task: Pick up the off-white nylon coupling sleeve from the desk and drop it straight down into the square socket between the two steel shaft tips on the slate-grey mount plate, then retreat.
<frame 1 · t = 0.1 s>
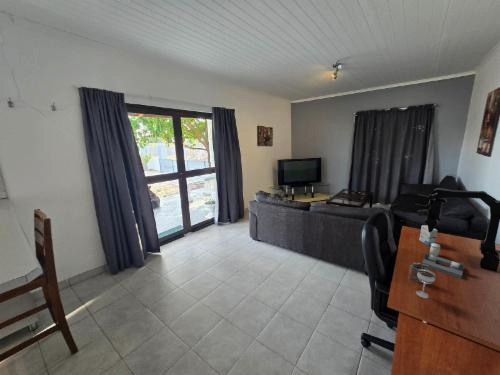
hand: (430, 230, 140), 14 cm above the table, fingers open, 9 cm apart
coupler: (433, 254, 138), on the table
ink box: (426, 242, 153), on the table
grey box: (417, 280, 114), on the table
shaft mount: (442, 266, 125), on the table
wineglass: (422, 294, 104), on the table
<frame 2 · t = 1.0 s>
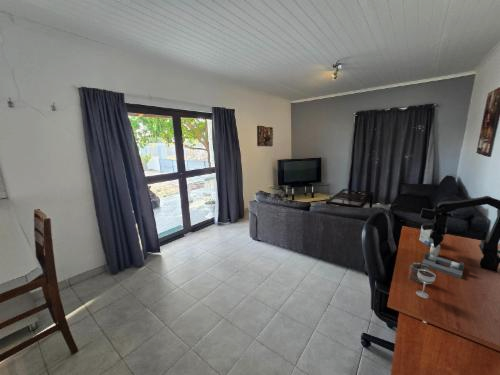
hand: (436, 244, 136), 7 cm above the table, fingers open, 9 cm apart
nothing on the table moved.
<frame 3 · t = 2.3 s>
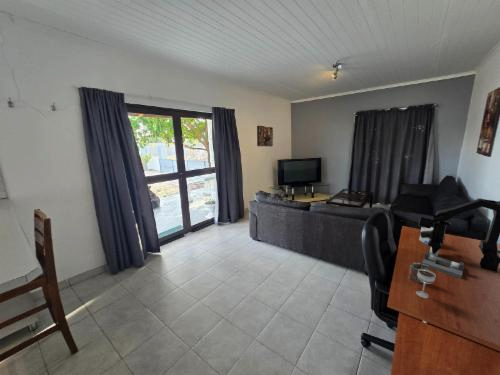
hand: (434, 252, 137), 2 cm above the table, fingers closed on coupler, 4 cm apart
coupler: (433, 254, 138), on the table, touching gripper
everything else where it was.
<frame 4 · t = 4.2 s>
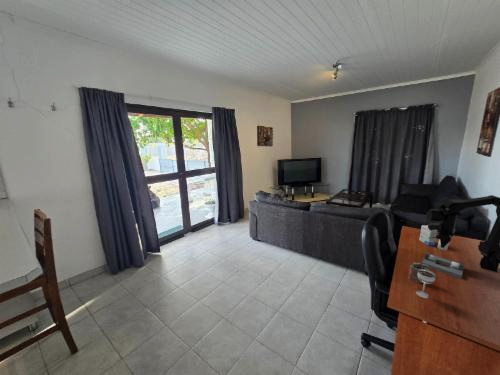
hand: (443, 246, 126), 11 cm above the table, fingers closed on coupler, 4 cm apart
coupler: (442, 248, 127), point 10 cm above the table, touching gripper
everything else where it was.
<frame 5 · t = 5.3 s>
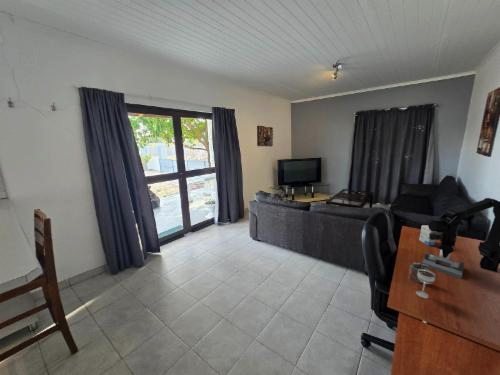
hand: (444, 256, 124), 7 cm above the table, fingers closed on coupler, 4 cm apart
coupler: (444, 258, 124), point 5 cm above the table, touching gripper
everything else where it was.
when the fingers open (3 cm above the table, at t = 6.3 s): coupler drops 1 cm, resting in shaft mount.
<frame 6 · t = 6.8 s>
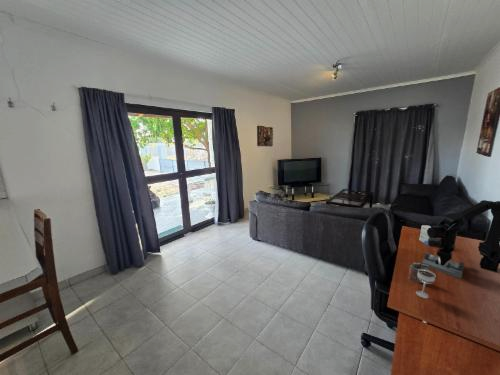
hand: (443, 262, 125), 3 cm above the table, fingers open, 9 cm apart
coupler: (442, 266, 125), resting in shaft mount
everything else where it was.
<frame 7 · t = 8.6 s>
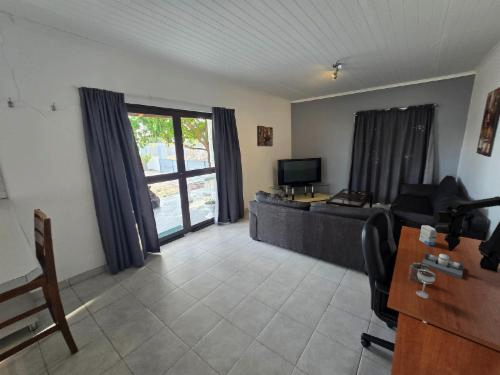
hand: (450, 248, 125), 11 cm above the table, fingers open, 9 cm apart
nothing on the table moved.
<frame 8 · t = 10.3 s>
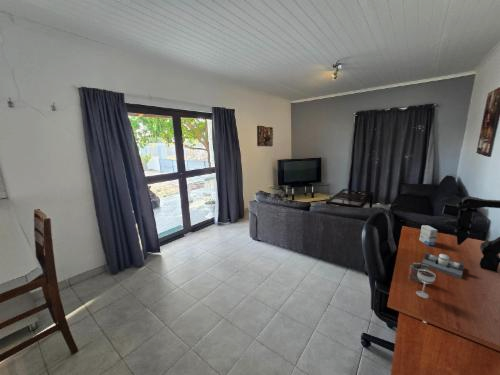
hand: (459, 241, 129), 12 cm above the table, fingers open, 9 cm apart
nothing on the table moved.
at the end: coupler 0.1 cm off-centre on the shaft mount, point 0.0 cm above the shaft mount's base; coupler tilted 0°; the gripper is holding nothing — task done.
